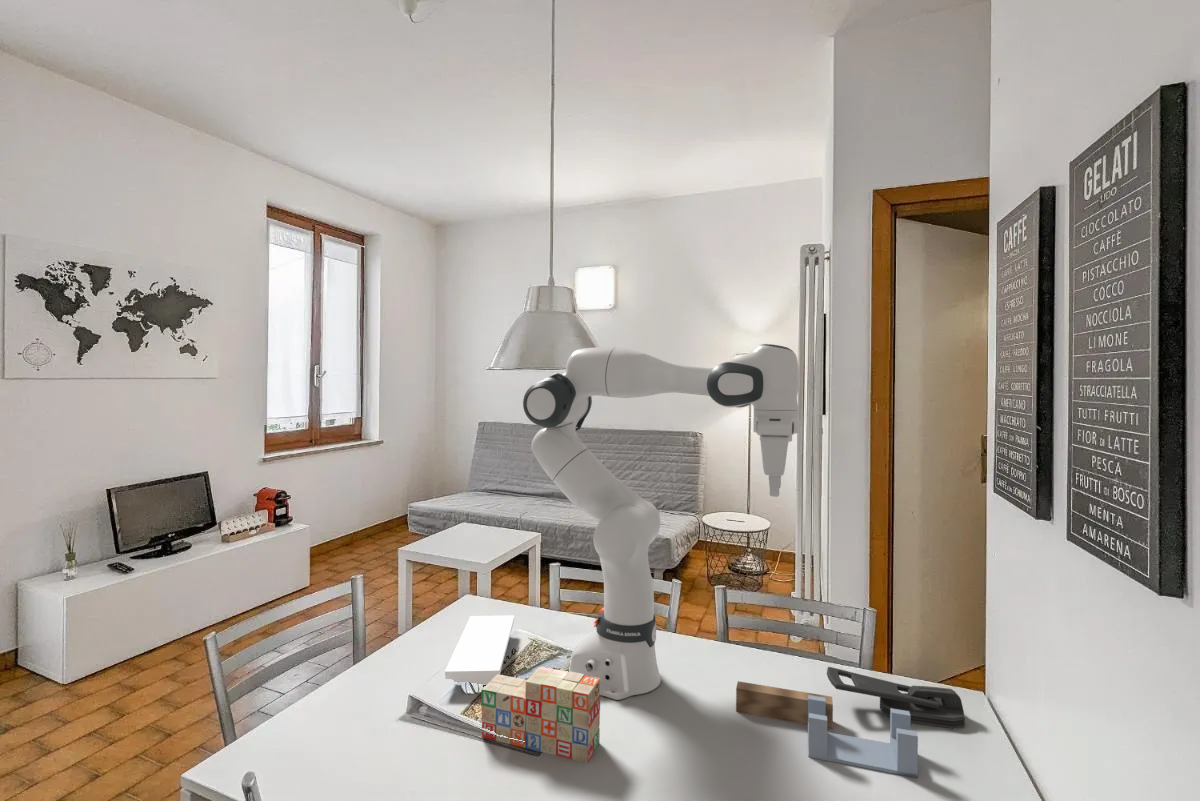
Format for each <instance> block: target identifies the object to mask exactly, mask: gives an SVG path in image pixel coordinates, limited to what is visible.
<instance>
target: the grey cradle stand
mask: <svg viewBox="0 0 1200 801" xmlns="http://www.w3.org/2000/svg"><path fill="white" fill-rule="evenodd" d="M825 715H826V700H825V698H824V697H818V696H812V695H808V725H807V742H808V744H807V747H808V758H813V759H817V760H822V761H823V760H824V761H828V762H833V763H837V764H842V765H843V764H844V765H847V766H854V767H858V768H863V769H868V770H872V771H878V772H879V771H880V772H884V773H889V774H894V775H899V776H904V777H909V778H914V779H918V775H919V774H918V764H919V763H918V762H919V761H918V760H919V759H918V755H919V752H918V751H919V750H918V749H919V748H918V747H919V736H918V732H917V730H916V731H915V730H911V724H912V723H911V715H910V713H909V711H904V710H898V709H892V708H890V718H889V719H890V721H889V724H890V727H889V728H890V729H889V742H886V741H885V742H884V741H880V740H874V739H867V738H863V737H858V736H857V737H856V736H851V735H847V734H846V735H845V734H840V733H834V732H830V731H828V728H827V716H825Z"/></svg>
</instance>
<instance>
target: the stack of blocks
mask: <svg viewBox="0 0 1200 801" xmlns="http://www.w3.org/2000/svg"><path fill="white" fill-rule="evenodd" d="M480 694H481V700H480V702H481V729H482V728H485V729H488V730H490V731H494V732H495V733H496V734H498V735H503V736H506V737H508V738H504V737H500V736H496V735H494V734H490V733H485V732H482V731H481V737H482V738H483V739H489V740H493V741H496V742H499V743H504V744H507V745H513V746H515V747H518V748H524V749H528V750H533V751H537V752H542V753H546V754H549V755H552V756H556V757H557V756H558V757H560V758H565V759H569V760H574V761H577V762H581V763H585V764H588V763H590V760H591V759H592V756H593V755H594V754H595V751H596V750H597V748H598V747H599V744H600V731H601V730H600V729H601V728H600V723H601V722H600V720H601V718H600V717H601V716H600V715H601V714H600V713H601V695H600V678H597V677H592V676H587V675H584V674H581V673H576V672H568V671H562V670H561V669H555V668H549V667H544V666H539V667H538V668H537V669H536V670H535V671H534V672H533V673H532V674H531V676H530V677H529V678H527V679H524V678H520V677H519V678H518V677H515V676H508V675H504V674H500V675H499V674H497V675H496V676H495V677H494V678H493V679H491V680H490V682H489V683H488V684H487V685H486V686H484V688H482V690H481V692H480ZM509 738H514V739H518V740H514V739H509ZM519 740H522V741H519ZM523 741H525V742H523Z"/></svg>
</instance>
